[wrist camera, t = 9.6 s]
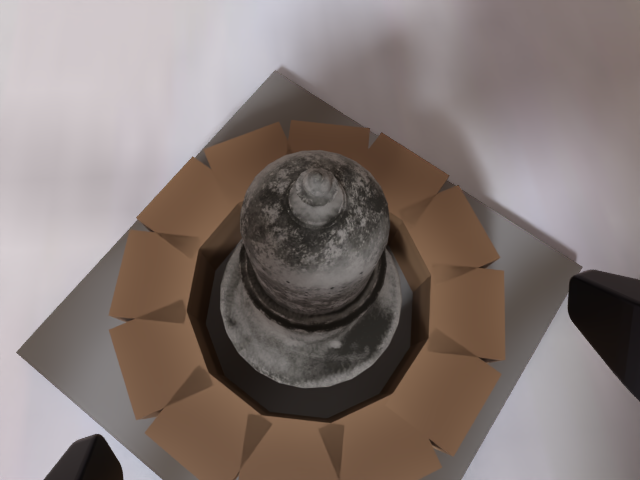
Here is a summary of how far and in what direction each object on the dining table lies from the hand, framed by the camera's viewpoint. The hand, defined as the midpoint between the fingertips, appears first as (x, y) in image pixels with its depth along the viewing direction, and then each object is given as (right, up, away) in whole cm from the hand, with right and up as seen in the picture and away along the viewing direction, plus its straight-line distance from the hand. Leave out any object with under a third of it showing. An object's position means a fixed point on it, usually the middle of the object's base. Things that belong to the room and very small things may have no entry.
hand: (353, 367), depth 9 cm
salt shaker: (-1, -1, +10) cm, 10 cm away
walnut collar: (-1, -1, +11) cm, 11 cm away
